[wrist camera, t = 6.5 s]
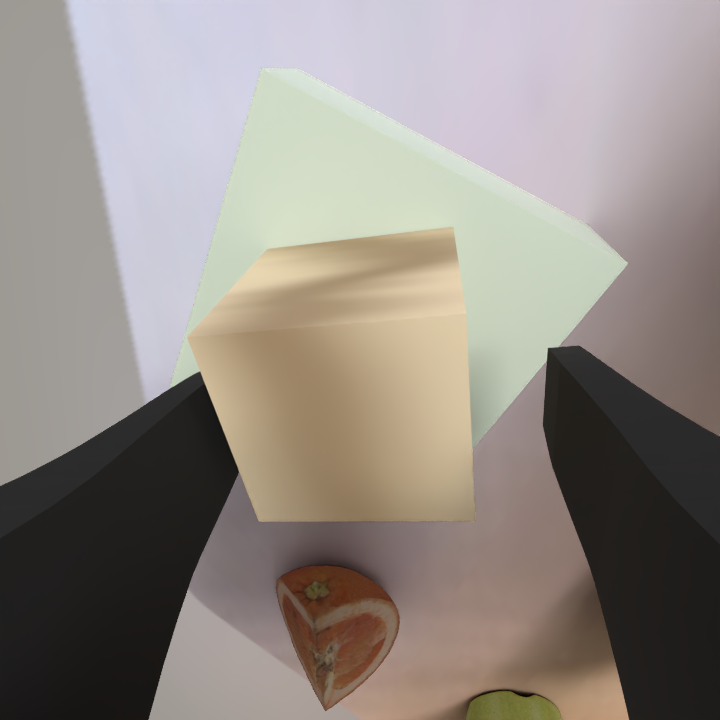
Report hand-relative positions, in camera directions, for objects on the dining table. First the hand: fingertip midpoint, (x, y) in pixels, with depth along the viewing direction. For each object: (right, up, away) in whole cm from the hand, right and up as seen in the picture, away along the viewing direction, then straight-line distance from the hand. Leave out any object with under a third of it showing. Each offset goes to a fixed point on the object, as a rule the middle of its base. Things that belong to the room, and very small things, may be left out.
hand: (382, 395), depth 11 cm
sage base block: (0, +4, +7) cm, 8 cm away
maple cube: (0, +2, +3) cm, 3 cm away
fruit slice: (-1, -11, +16) cm, 19 cm away
